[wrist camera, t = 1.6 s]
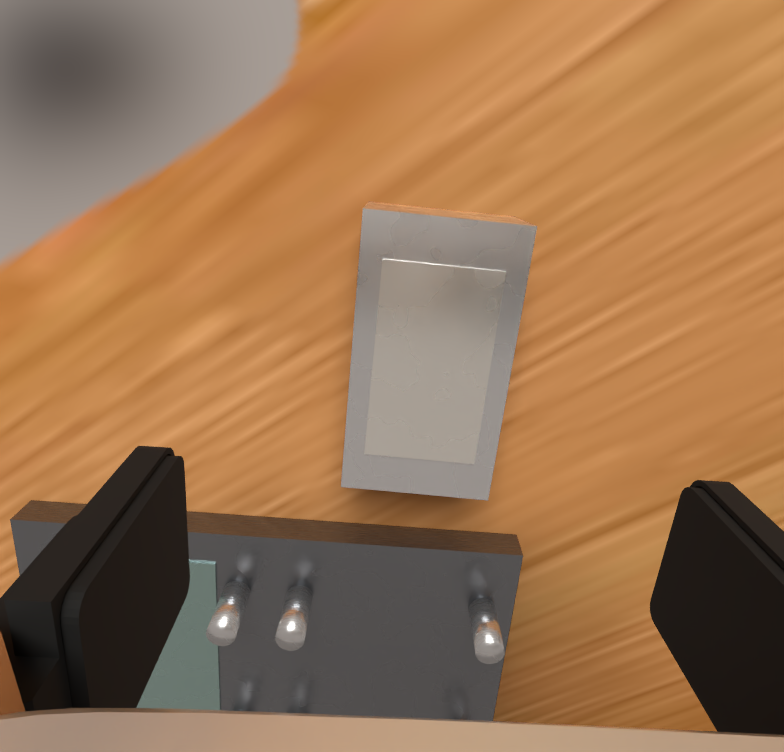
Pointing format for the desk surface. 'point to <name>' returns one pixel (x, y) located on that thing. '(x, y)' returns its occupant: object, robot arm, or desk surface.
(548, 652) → the desk surface
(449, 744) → the robot arm
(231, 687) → the tray
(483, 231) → the block
